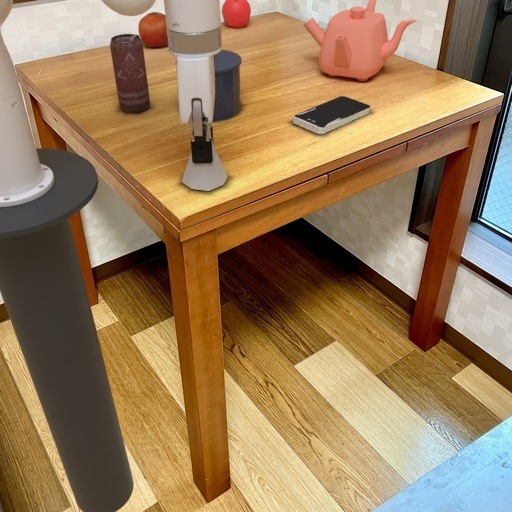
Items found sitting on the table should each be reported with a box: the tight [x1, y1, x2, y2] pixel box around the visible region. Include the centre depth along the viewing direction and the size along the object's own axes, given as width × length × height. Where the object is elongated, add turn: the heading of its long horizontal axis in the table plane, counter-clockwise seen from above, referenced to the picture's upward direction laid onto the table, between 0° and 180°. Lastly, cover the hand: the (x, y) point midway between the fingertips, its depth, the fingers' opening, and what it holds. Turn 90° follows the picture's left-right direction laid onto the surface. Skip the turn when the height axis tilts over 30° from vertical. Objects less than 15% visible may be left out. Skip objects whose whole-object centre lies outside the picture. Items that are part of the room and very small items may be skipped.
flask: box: [181, 122, 229, 192], centre depth 94 cm, size 7×7×10 cm
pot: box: [212, 65, 242, 122], centre depth 117 cm, size 12×12×10 cm
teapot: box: [303, 0, 418, 82], centre depth 131 cm, size 18×18×14 cm
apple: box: [221, 0, 252, 29], centre depth 162 cm, size 8×8×8 cm
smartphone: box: [292, 95, 371, 135], centre depth 116 cm, size 8×1×15 cm
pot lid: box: [214, 49, 243, 74], centre depth 113 cm, size 13×13×5 cm
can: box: [109, 33, 151, 114], centre depth 117 cm, size 6×6×14 cm
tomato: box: [138, 11, 168, 48], centre depth 150 cm, size 9×9×8 cm
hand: (203, 155), depth 95 cm, fingers closed on flask, 3 cm apart
